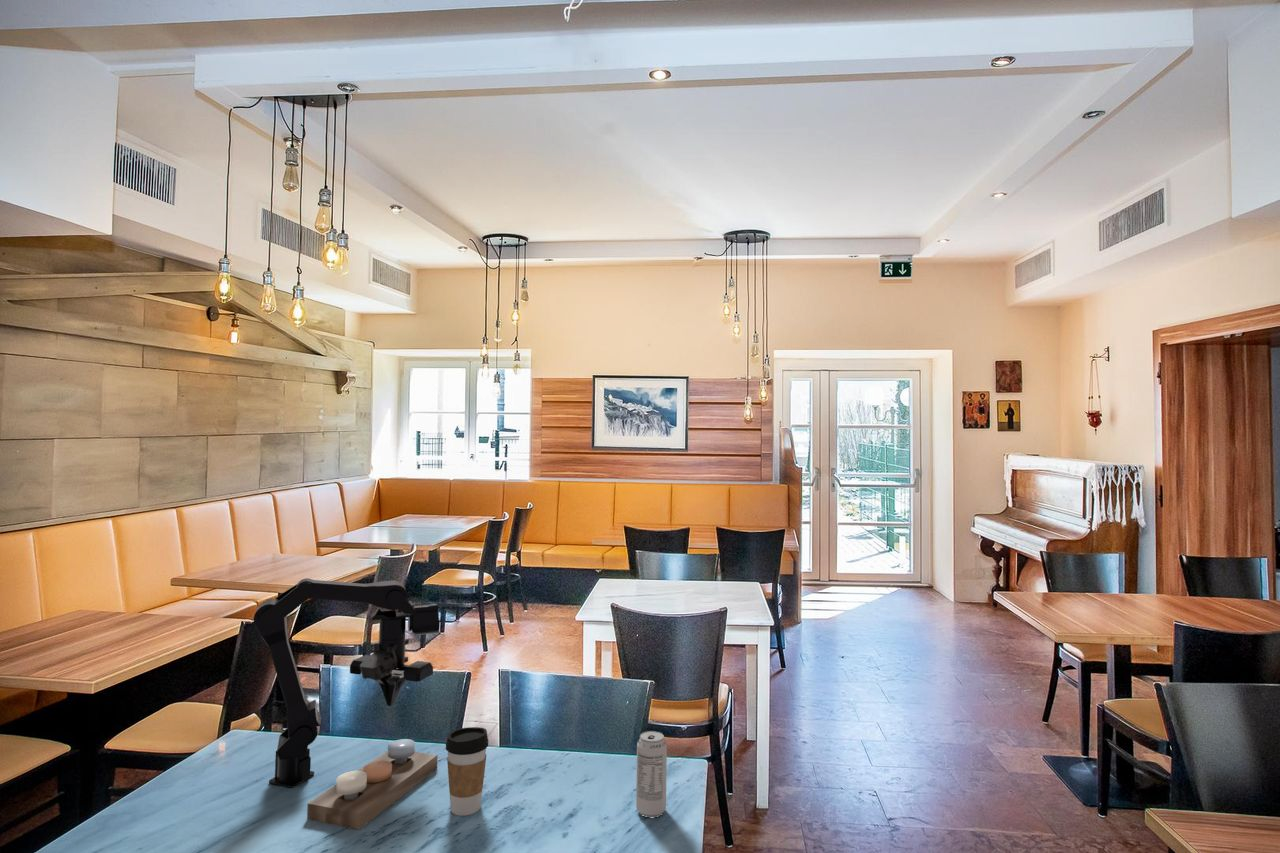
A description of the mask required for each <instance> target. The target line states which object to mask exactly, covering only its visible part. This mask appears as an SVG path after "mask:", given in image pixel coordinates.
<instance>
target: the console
mask: <svg viewBox="0 0 1280 853" xmlns="http://www.w3.org/2000/svg"><path fill="white" fill-rule="evenodd" d="M374 761H389V762H391V763H392V775H391V777H390V778H388V779H387V780H385V781H382V782H376V783H369V782H367V786H366V788H365V789H364V790H362V791H360V792H358V798H357V799H355V800H354V801H348V800H344V795H343V794H339V793H337V792H336V784H335V785H333V786H332V787H330V788H329V789H327V790H325V791H324V792H323V793H322V794H320V795H318V796H316V797H315V798H314V799H312V800H310V801H309V802H308V803H307V810H306V812H307V814H306V816H307V817H306V819H307V820H309V819H311V820H310V821H314V820H315V821H314V822H320V823H324V824H330V825H334V826H339V825H340V826H339V827H344V826H345V828H349V827H350V828H349V829H354V828H356V829H355V830H361V829H362V828H363V827H365V826H366V825H367V824H369V821H370V820H371V821H372V820H374V819H375V818H376V817H377V816H379V815H380V814H381V813H382V812H384V811H385V810H386V809H388V807H390V806H392V805H393V804H394V803H395V802H396V801H398V800H399V799H400V798H401V797H402V796H404V795H406V794H407V793H408V792H409V791H410V790H412V789H413V788H414V787H415V786H417V785H418V784H420V783H421V782H422V781H424V780H425V779H426V778H427V777H428V776H430V775H431V774H432V773H434V772H435V771H436V770H437V769H438V754H433V753H427V752H419V751H416V750H414V754H413V755H412V756H410V757H408V758H407V763H405V764H404V765H398V764H395V759H391V758H389V757H388V750H387V751H385V752H384V753H382V754H381V755H378V756H377V757H376V758H374V759H373V760H371V761H370V762H368V763H367V764H369V763H371V762H374ZM363 768H364V766H362V767H361V768H359V769H358V770H357V771H363ZM378 814H379V815H378ZM374 817H375V818H374ZM371 821H370V822H371ZM366 823H367V824H366ZM365 824H366V825H365ZM364 825H365V826H364ZM361 827H362V828H361ZM360 828H361V829H360Z"/></svg>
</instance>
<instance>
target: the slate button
mask: <svg viewBox="0 0 1280 853" xmlns="http://www.w3.org/2000/svg"><path fill="white" fill-rule="evenodd" d="M415 744H416V743H415V740H413V739H410V738H403V739H402V738H401V739H396V740H393V741H391V742H389V744H388V745H387V751H388V757H389V758H391V759H395V764H398V765H404V764H405V763H407V758H408V757H410V756H412V755H413V754H414V751H416V750H415V748H416V747H415Z"/></svg>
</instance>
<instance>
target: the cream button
mask: <svg viewBox="0 0 1280 853" xmlns="http://www.w3.org/2000/svg"><path fill="white" fill-rule="evenodd" d="M335 785H336V792H337V793H339V794H343V795H344V800H348V801H354V800H355V799H357V798H358V792H360V791H362V790H364V789H365V788H366V786H367V774H366V773H365V772H363V771H358V770H350V771H346V772H345V773H342V774H340V775H338V776H337V778H336V784H335Z"/></svg>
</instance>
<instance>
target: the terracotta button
mask: <svg viewBox="0 0 1280 853" xmlns="http://www.w3.org/2000/svg"><path fill="white" fill-rule="evenodd" d="M370 762H371V761H370ZM370 762H368V763H369V764H368V763H367V764H366V765H364V766H363V767H364V768H363V772H365V773H366V774H367V782H369V783H376V782H382V781H385V780H387V779H388V778H390V777H391V775H392V763H391V762H389V761H374V762H371V763H370Z"/></svg>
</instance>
